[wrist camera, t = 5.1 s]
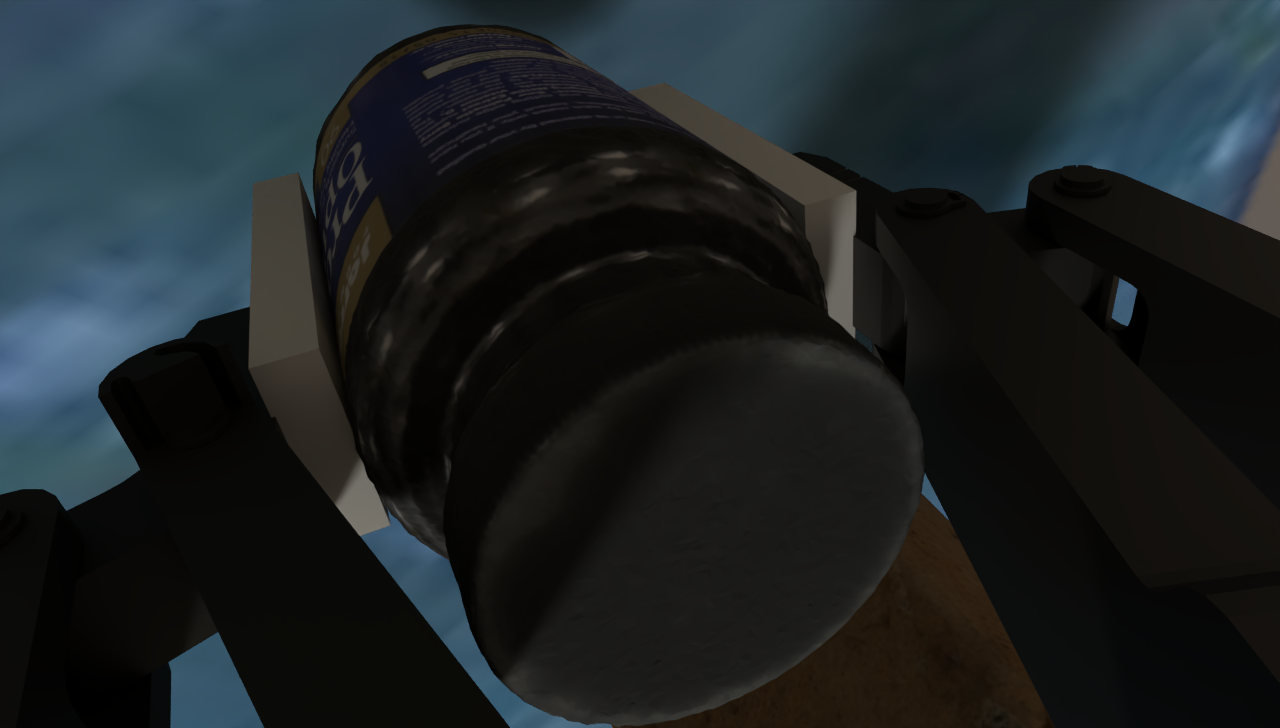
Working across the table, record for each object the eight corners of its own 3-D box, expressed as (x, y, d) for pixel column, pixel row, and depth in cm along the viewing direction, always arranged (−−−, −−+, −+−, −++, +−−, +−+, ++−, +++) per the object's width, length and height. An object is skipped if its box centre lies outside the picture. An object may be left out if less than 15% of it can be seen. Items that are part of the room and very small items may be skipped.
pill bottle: (254, 68, 14) (241, 405, 6) (591, -20, 16) (1016, 142, 7) (379, 364, 18) (493, 863, 9) (647, 273, 19) (978, 633, 10)
